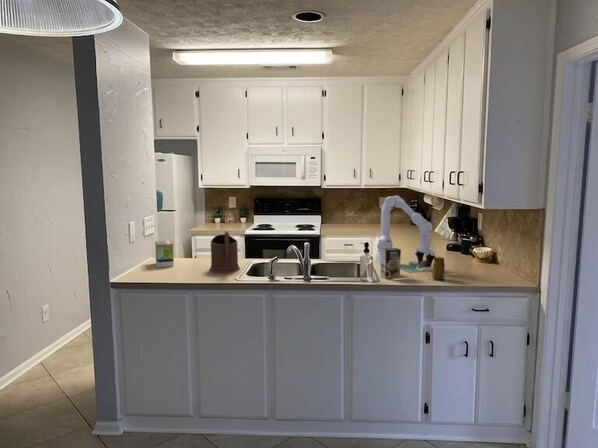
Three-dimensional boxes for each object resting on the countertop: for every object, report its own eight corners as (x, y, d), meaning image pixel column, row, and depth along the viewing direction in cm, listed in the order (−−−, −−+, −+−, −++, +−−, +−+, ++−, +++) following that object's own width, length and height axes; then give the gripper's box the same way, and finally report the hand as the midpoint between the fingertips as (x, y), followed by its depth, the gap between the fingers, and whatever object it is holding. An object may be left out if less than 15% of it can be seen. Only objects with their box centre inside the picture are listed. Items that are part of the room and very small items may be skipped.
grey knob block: (409, 265, 269) (409, 261, 269) (418, 264, 271) (419, 260, 271) (415, 267, 262) (415, 263, 262) (425, 266, 264) (425, 262, 264)
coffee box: (385, 279, 240) (386, 250, 238) (380, 276, 246) (380, 248, 244) (400, 277, 242) (401, 249, 240) (394, 275, 248) (395, 247, 246)
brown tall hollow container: (237, 265, 276) (236, 226, 273) (244, 273, 253) (243, 231, 250) (207, 267, 270) (206, 227, 267) (212, 276, 248) (210, 232, 244)
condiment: (435, 276, 244) (436, 255, 243) (450, 279, 239) (450, 258, 237) (429, 279, 239) (430, 257, 237) (444, 282, 233) (445, 260, 232)
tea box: (174, 266, 272) (173, 243, 271) (157, 268, 269) (156, 244, 267) (171, 262, 286) (170, 239, 284) (155, 263, 283) (154, 240, 281)
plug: (419, 269, 258) (419, 259, 257) (425, 268, 260) (426, 259, 259) (423, 270, 255) (423, 261, 254) (429, 269, 257) (429, 260, 256)
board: (394, 268, 266) (394, 263, 265) (420, 266, 271) (420, 261, 271) (409, 274, 249) (409, 269, 249) (436, 272, 255) (436, 267, 254)
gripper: (412, 241, 260) (411, 263, 262) (428, 245, 247) (427, 268, 249) (421, 240, 263) (420, 262, 265) (438, 244, 250) (437, 267, 252)
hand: (424, 265), depth 257 cm, fingers open, 7 cm apart
